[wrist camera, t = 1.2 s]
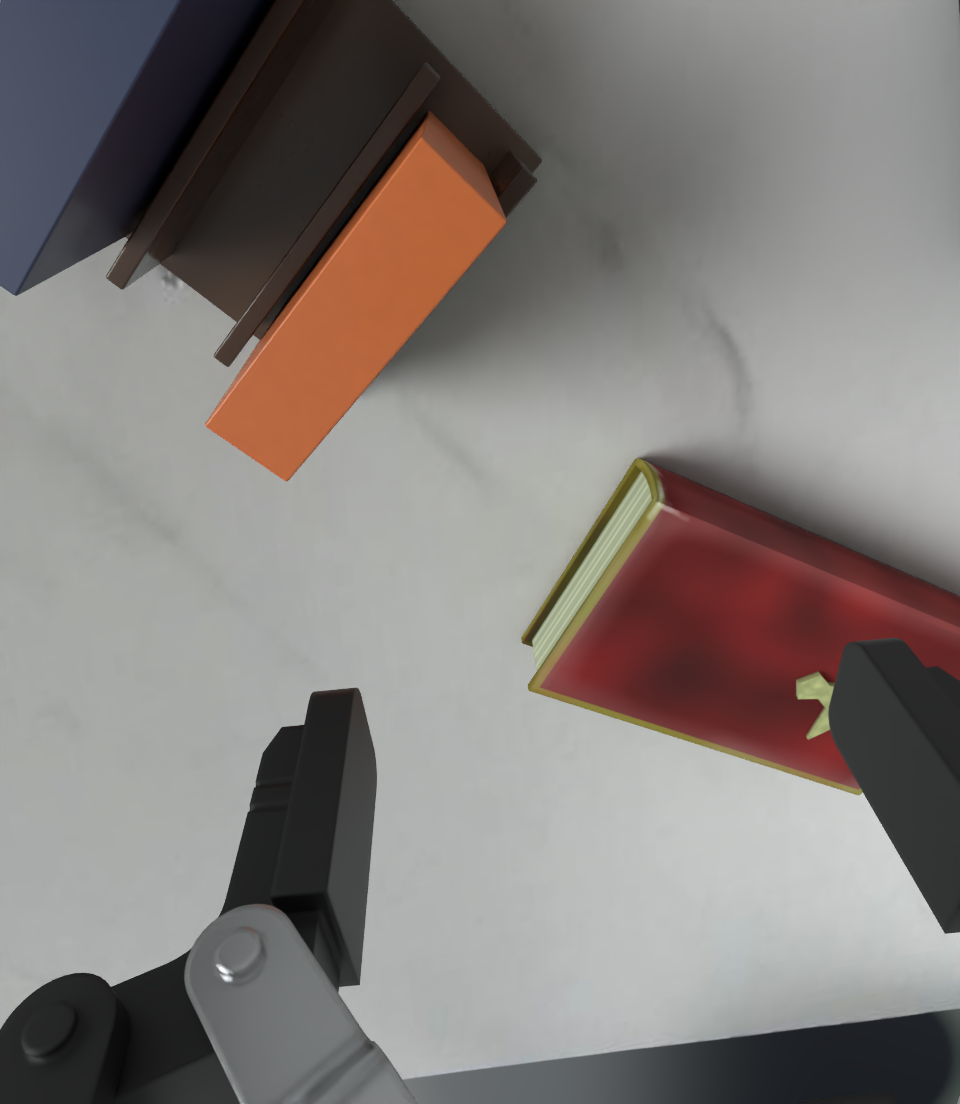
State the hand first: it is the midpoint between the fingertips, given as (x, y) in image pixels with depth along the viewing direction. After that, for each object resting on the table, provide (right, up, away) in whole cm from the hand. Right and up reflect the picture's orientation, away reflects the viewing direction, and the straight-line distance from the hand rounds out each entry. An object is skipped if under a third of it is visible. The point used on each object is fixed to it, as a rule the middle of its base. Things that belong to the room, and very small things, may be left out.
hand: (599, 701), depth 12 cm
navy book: (-11, +18, +12) cm, 25 cm away
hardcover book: (+12, -1, +27) cm, 30 cm away
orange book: (-6, +14, +15) cm, 21 cm away
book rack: (-9, +17, +14) cm, 23 cm away
